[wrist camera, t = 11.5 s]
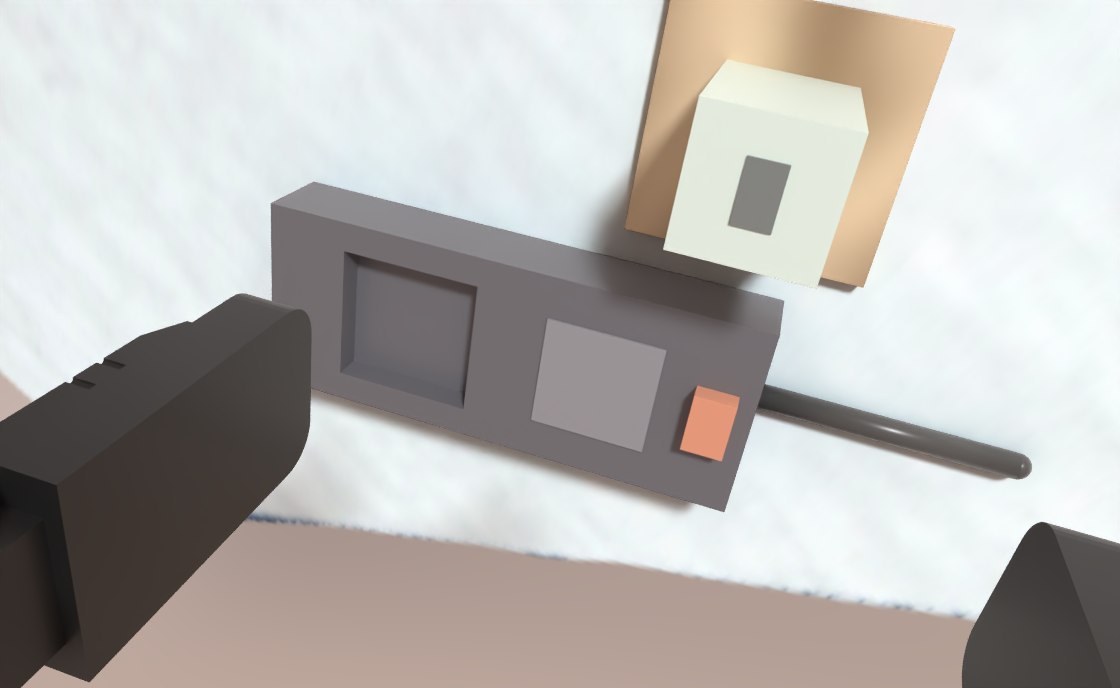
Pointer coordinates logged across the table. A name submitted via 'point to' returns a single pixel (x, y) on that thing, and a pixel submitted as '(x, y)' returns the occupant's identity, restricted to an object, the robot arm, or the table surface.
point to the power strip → (551, 346)
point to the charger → (767, 172)
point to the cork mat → (809, 50)
